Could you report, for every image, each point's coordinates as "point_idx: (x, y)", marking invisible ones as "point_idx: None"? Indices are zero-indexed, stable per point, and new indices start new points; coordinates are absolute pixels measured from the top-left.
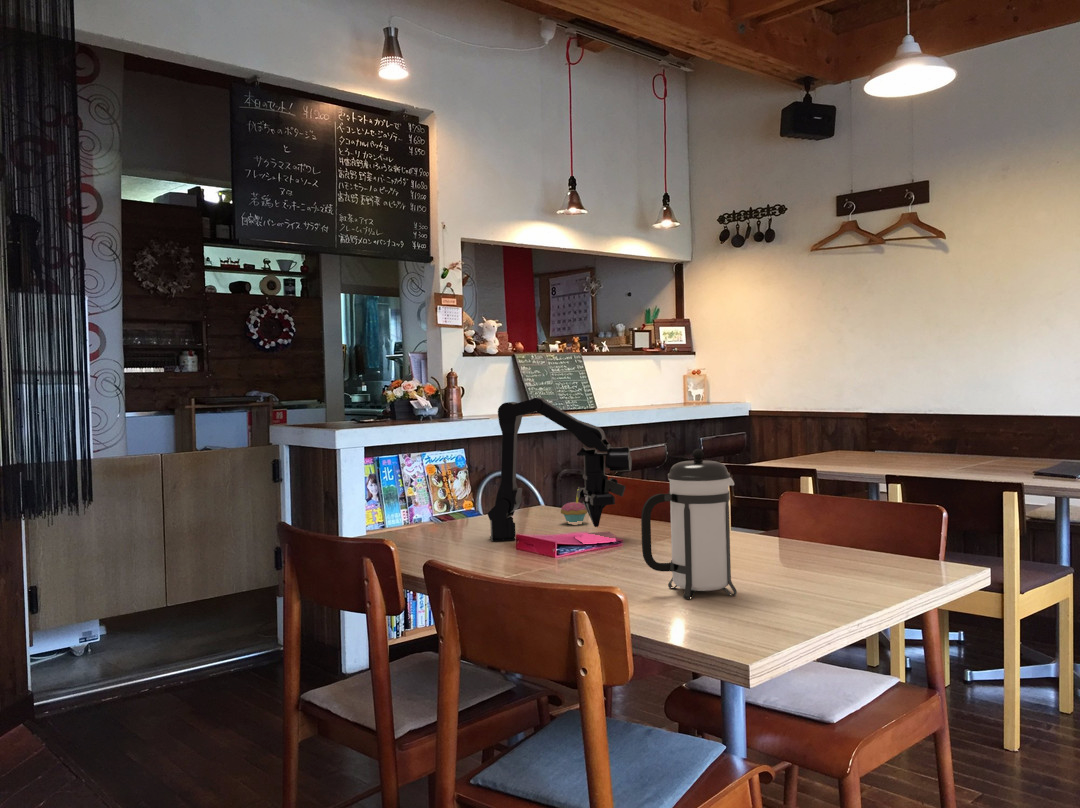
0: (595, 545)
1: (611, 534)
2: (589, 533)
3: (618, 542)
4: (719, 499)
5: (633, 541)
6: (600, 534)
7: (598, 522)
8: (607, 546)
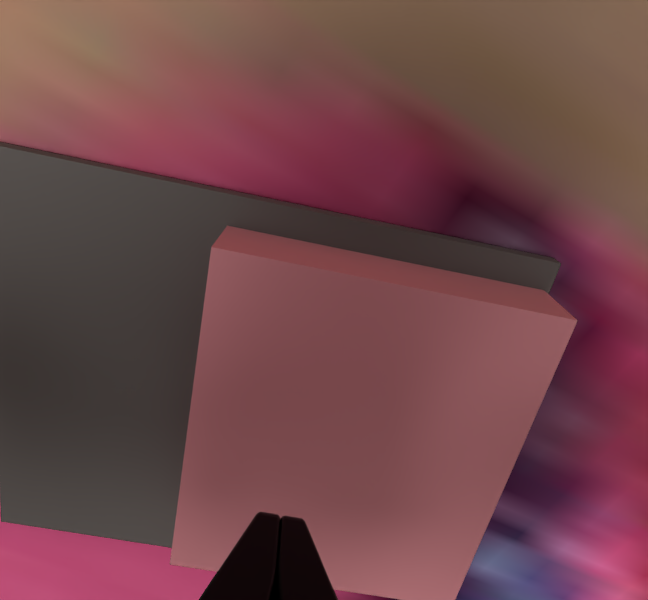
0: (500, 505)
1: (451, 329)
2: (221, 509)
3: (524, 246)
4: None
5: (608, 31)
6: (361, 440)
7: (323, 584)
8: (627, 443)
